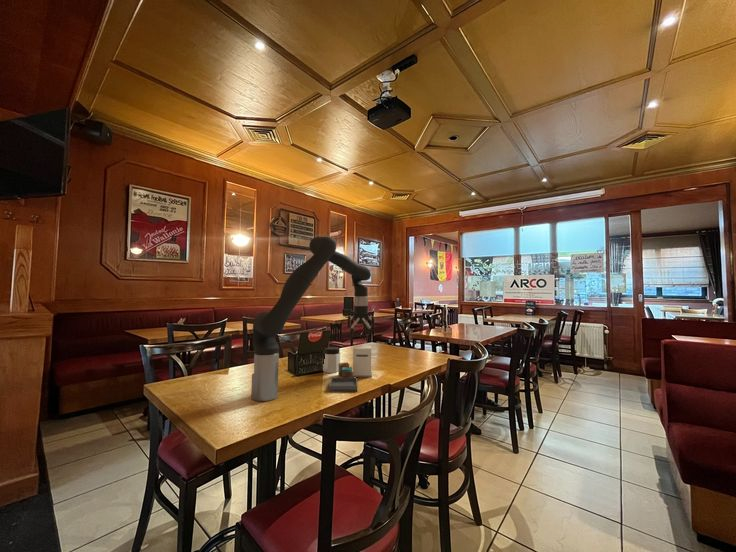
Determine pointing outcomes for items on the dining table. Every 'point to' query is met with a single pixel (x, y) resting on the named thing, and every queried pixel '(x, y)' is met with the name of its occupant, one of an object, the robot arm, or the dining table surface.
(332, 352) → the jar
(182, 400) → the dining table surface
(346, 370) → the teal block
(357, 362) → the dispenser
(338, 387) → the tray
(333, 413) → the dining table surface
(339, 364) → the rust block
